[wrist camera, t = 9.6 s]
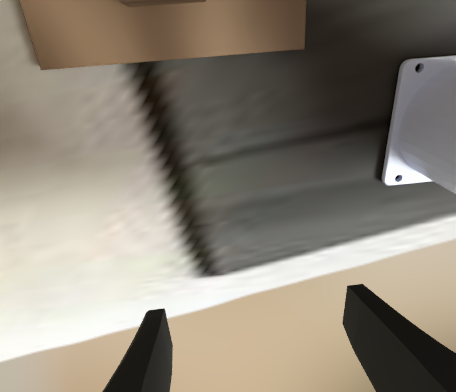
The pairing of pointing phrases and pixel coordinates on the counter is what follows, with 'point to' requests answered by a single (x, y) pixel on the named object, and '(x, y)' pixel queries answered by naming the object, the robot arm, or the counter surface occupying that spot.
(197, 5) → the holder board
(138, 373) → the robot arm
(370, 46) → the counter surface
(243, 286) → the counter surface
